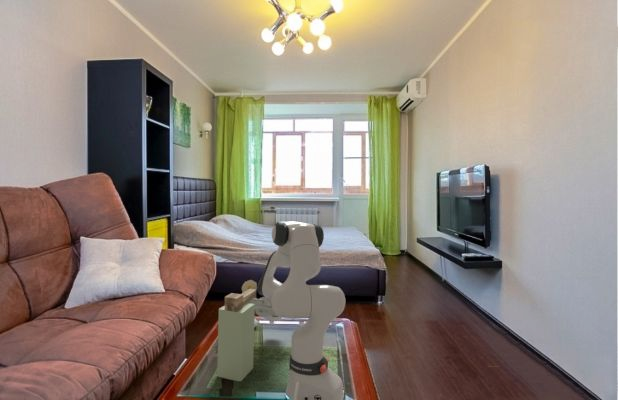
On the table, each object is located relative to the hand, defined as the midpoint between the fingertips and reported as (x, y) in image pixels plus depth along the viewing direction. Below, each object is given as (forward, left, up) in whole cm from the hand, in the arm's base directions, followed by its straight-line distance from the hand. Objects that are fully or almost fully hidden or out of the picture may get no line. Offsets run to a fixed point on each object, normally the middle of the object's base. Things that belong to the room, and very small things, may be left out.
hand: (253, 300), depth 143 cm
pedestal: (0, +14, -24) cm, 28 cm away
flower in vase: (+15, -24, -24) cm, 38 cm away
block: (0, +10, +2) cm, 10 cm away
